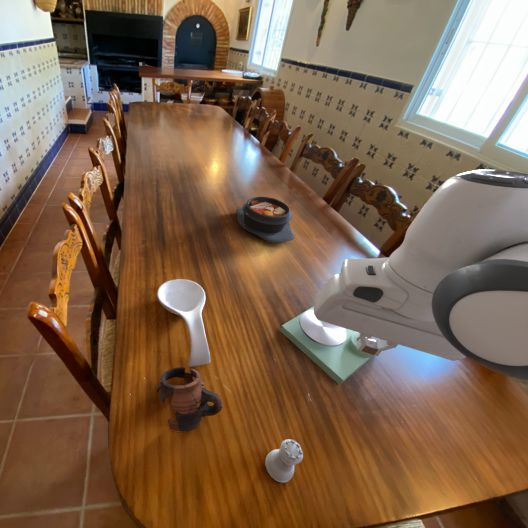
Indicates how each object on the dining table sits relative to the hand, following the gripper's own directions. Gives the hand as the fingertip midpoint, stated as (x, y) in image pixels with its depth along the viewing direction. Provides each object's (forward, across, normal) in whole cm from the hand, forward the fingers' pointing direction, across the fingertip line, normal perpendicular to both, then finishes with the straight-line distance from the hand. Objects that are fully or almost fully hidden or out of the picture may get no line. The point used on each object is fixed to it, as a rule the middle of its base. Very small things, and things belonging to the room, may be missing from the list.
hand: (366, 349), depth 48 cm
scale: (+16, 0, -14) cm, 21 cm away
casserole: (+15, +22, -58) cm, 64 cm away
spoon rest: (+16, +32, -6) cm, 36 cm away
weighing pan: (+12, +3, -14) cm, 19 cm away
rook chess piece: (+16, +8, +16) cm, 24 cm away
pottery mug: (+16, +25, +13) cm, 32 cm away
